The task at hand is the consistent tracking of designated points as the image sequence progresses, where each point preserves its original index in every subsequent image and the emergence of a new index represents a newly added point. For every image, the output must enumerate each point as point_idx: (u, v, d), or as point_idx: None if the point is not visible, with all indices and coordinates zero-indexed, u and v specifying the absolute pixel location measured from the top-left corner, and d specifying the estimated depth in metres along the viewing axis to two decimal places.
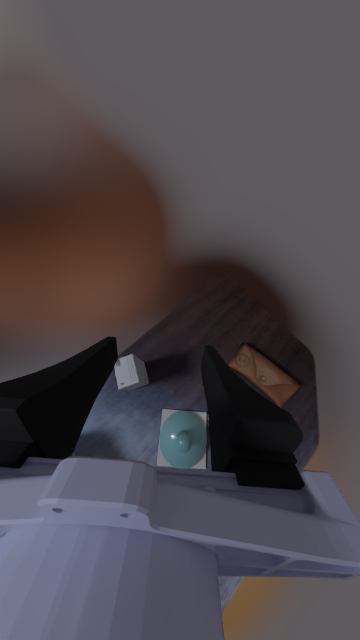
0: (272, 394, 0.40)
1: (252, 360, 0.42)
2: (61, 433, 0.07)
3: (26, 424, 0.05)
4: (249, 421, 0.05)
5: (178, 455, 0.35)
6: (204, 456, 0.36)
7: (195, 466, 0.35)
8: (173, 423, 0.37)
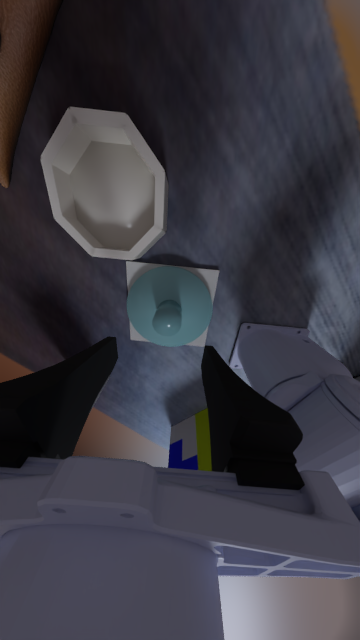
0: None
1: None
2: (61, 433, 0.07)
3: (26, 425, 0.05)
4: (249, 421, 0.05)
5: (193, 319, 0.20)
6: (200, 271, 0.18)
7: (212, 289, 0.19)
8: (148, 327, 0.21)
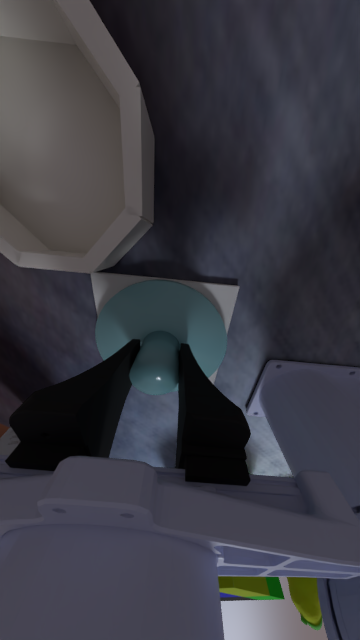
0: None
1: None
2: (102, 436, 0.07)
3: (81, 429, 0.05)
4: (193, 416, 0.05)
5: (198, 357, 0.14)
6: (208, 288, 0.12)
7: (227, 314, 0.12)
8: None
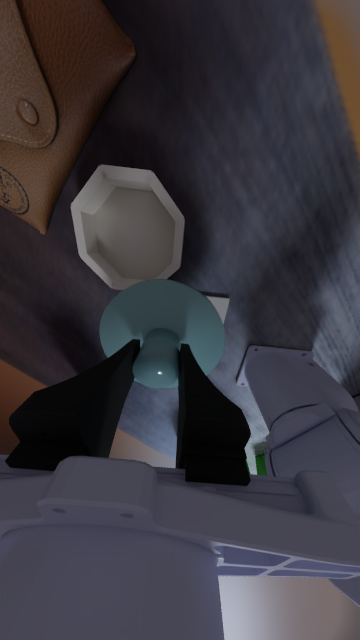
0: (85, 87, 0.11)
1: None
2: (102, 436, 0.07)
3: (81, 429, 0.05)
4: (193, 416, 0.05)
5: (198, 353, 0.14)
6: (211, 299, 0.19)
7: (223, 315, 0.20)
8: None
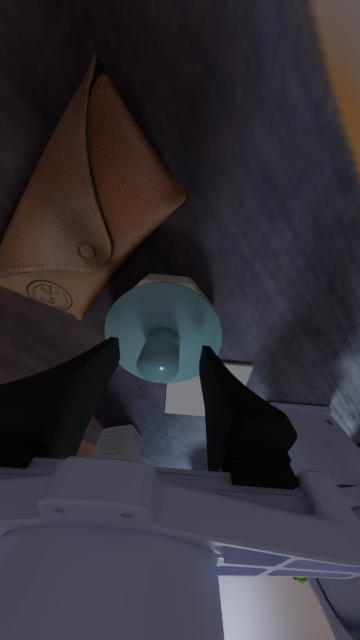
0: (139, 228, 0.13)
1: (37, 270, 0.13)
2: (65, 433, 0.07)
3: (31, 425, 0.05)
4: (243, 420, 0.05)
5: (197, 349, 0.15)
6: (235, 367, 0.20)
7: (245, 379, 0.21)
8: None
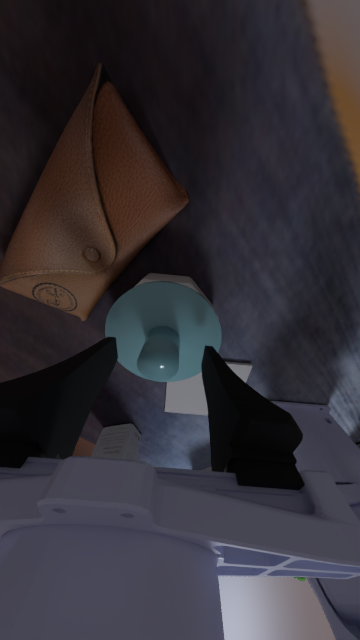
0: (143, 231, 0.13)
1: (42, 274, 0.13)
2: (61, 433, 0.07)
3: (26, 425, 0.05)
4: (249, 421, 0.05)
5: (197, 348, 0.15)
6: (234, 366, 0.20)
7: (245, 378, 0.21)
8: None
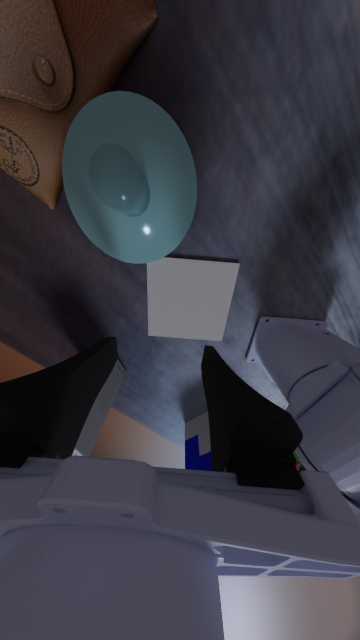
0: (104, 47, 0.11)
1: None
2: (61, 433, 0.07)
3: (26, 424, 0.05)
4: (249, 421, 0.05)
5: (170, 204, 0.13)
6: (220, 264, 0.18)
7: (232, 283, 0.19)
8: (105, 230, 0.14)
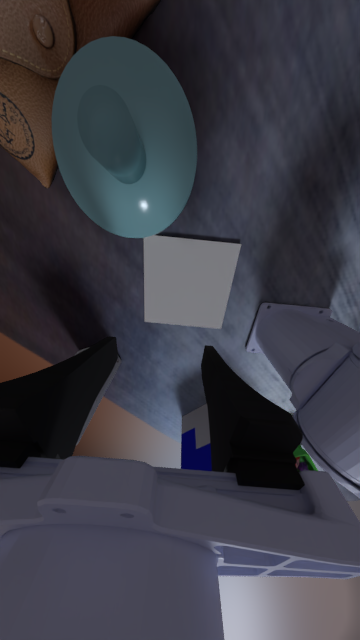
0: (109, 13, 0.10)
1: None
2: (61, 433, 0.07)
3: (26, 424, 0.05)
4: (249, 421, 0.05)
5: (168, 170, 0.12)
6: (220, 245, 0.18)
7: (233, 265, 0.18)
8: (98, 199, 0.13)
